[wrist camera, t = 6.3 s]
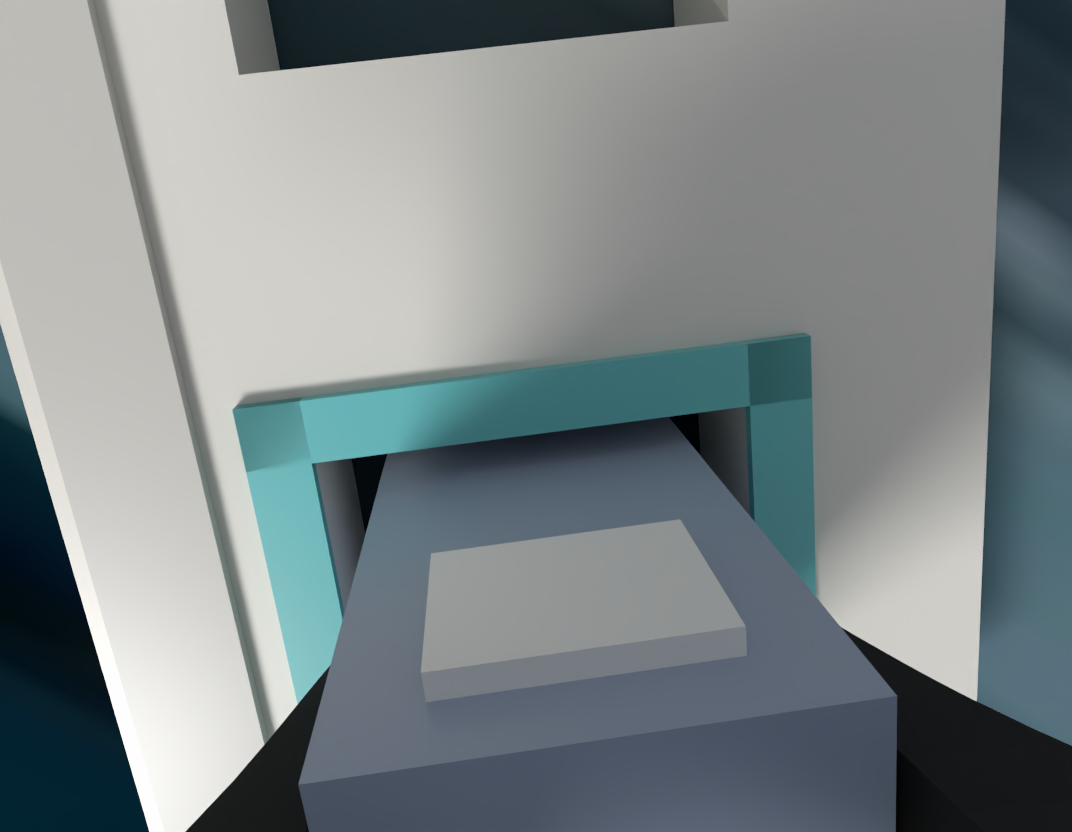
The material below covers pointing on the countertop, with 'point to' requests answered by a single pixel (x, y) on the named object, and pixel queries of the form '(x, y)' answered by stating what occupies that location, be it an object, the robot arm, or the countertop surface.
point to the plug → (589, 656)
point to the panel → (487, 310)
